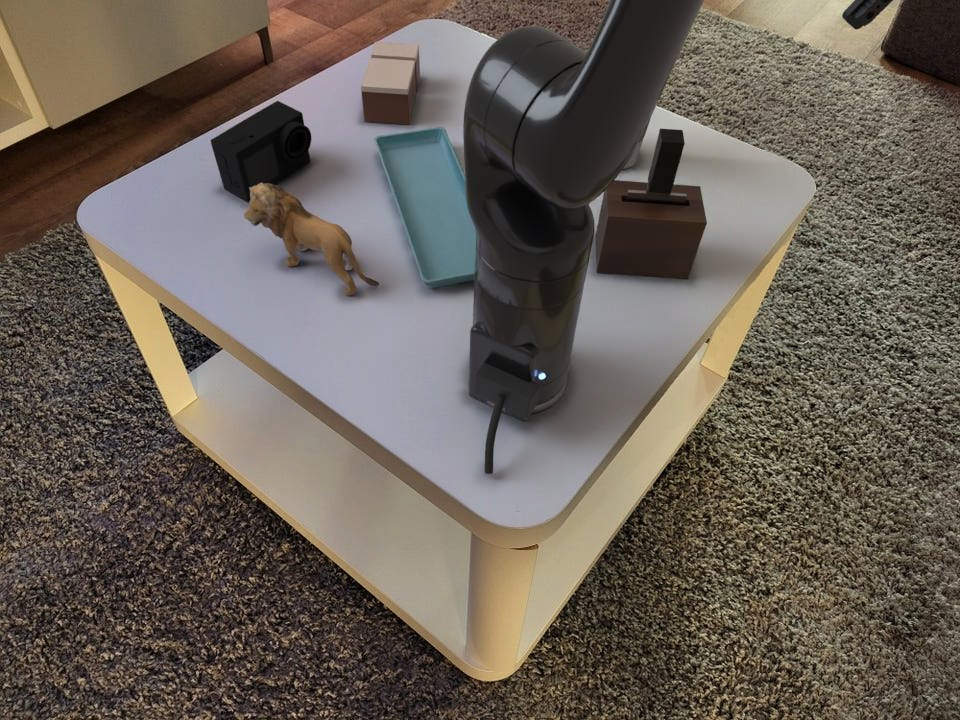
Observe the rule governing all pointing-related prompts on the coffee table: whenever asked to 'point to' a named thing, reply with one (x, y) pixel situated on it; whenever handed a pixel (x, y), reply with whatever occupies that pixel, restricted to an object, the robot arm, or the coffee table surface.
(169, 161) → the coffee table surface
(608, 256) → the knife block
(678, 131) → the knife
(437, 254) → the teal serving tray
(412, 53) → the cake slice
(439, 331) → the coffee table surface
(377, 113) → the brown lidded box
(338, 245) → the lion figurine
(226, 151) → the digital camera
